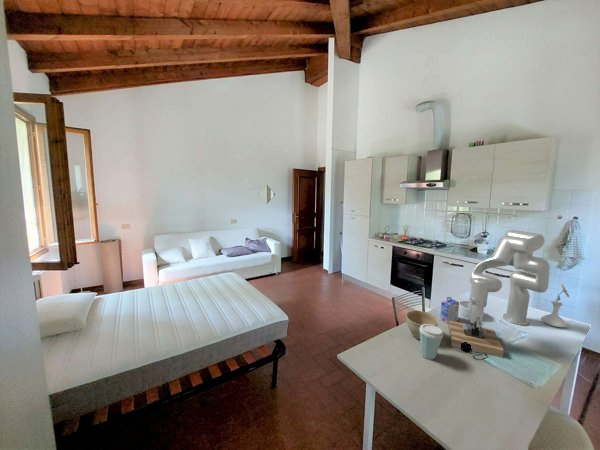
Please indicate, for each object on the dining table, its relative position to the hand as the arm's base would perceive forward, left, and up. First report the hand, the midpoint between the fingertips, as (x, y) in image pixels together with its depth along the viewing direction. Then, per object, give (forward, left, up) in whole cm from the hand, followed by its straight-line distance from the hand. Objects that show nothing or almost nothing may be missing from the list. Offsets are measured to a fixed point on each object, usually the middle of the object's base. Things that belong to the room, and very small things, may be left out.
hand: (473, 332), depth 141 cm
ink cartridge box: (-19, -10, -5) cm, 22 cm away
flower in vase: (-42, +48, -5) cm, 64 cm away
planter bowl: (+7, -26, -5) cm, 27 cm away
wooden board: (0, 0, -5) cm, 5 cm away
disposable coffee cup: (+24, -22, -5) cm, 33 cm away
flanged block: (0, 0, -2) cm, 2 cm away
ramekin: (-32, +3, -5) cm, 32 cm away
